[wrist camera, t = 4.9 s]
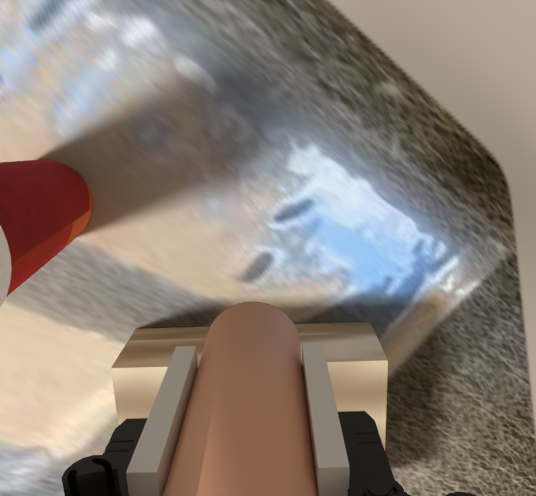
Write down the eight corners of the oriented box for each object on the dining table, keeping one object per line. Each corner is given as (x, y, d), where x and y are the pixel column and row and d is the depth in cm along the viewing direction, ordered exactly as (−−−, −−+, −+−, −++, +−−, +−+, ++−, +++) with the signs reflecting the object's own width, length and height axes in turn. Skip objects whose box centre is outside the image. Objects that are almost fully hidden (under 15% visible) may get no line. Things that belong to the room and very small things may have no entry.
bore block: (135, 328, 38) (59, 450, 24) (370, 321, 37) (425, 441, 24) (153, 480, 41) (96, 658, 28) (366, 475, 41) (412, 653, 28)
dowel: (203, 303, 20) (70, 685, 7) (298, 300, 20) (354, 679, 7) (209, 387, 21) (107, 858, 8) (300, 385, 21) (351, 855, 8)
